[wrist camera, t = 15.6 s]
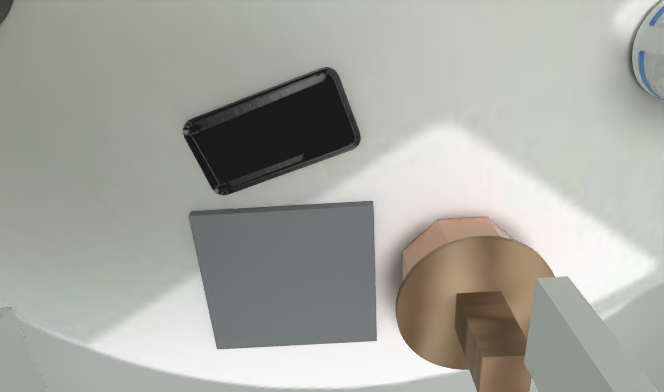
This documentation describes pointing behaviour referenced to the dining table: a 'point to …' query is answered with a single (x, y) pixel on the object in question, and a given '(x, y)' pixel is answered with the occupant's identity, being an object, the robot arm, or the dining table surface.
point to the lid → (473, 309)
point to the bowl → (447, 237)
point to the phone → (273, 132)
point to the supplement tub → (650, 52)
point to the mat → (288, 273)
